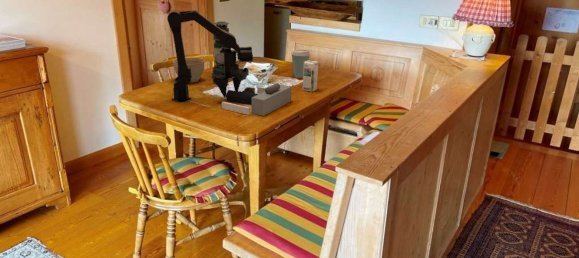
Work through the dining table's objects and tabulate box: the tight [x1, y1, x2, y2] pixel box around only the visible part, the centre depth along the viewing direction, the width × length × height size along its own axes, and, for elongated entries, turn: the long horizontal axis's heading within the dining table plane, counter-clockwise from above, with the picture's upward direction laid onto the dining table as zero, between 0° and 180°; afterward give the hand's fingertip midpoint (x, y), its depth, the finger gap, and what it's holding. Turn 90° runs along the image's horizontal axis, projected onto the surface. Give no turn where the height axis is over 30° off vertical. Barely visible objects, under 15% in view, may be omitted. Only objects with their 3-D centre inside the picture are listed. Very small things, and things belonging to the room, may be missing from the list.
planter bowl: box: [172, 56, 206, 84], centre depth 224 cm, size 16×16×11 cm
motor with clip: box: [221, 82, 293, 117], centre depth 193 cm, size 29×20×10 cm
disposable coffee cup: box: [291, 49, 311, 79], centre depth 237 cm, size 11×11×15 cm
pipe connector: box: [225, 86, 260, 105], centre depth 199 cm, size 12×5×15 cm
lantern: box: [211, 20, 241, 79], centre depth 231 cm, size 19×14×30 cm
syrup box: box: [302, 59, 319, 93], centre depth 215 cm, size 6×6×14 cm
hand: (230, 94), depth 201 cm, fingers open, 9 cm apart
